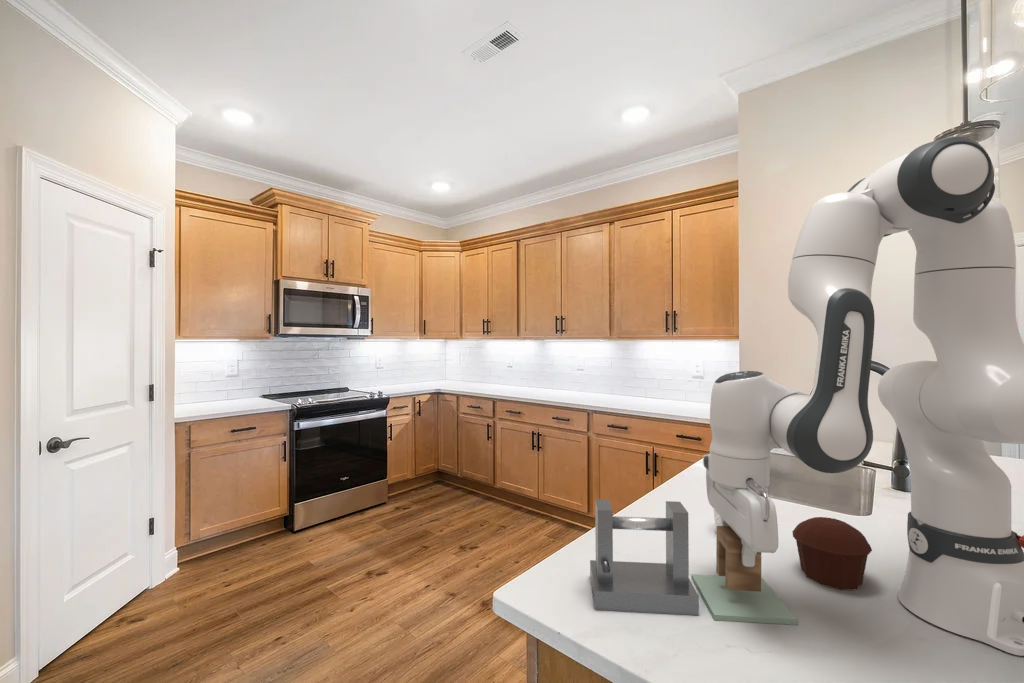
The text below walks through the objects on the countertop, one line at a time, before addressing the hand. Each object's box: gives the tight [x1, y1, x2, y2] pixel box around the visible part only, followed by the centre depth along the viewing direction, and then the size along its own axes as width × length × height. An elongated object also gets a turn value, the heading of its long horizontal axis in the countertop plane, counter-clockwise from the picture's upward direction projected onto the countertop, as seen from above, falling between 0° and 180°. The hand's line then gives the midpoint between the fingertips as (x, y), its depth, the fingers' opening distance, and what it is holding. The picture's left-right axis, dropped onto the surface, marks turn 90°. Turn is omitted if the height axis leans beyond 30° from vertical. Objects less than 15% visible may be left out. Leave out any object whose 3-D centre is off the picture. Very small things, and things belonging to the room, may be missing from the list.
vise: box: [589, 498, 700, 616], centre depth 76 cm, size 16×10×15 cm, turn 84°
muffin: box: [792, 516, 873, 591], centre depth 81 cm, size 12×11×10 cm
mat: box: [690, 573, 799, 626], centre depth 74 cm, size 12×12×1 cm
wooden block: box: [715, 526, 762, 592], centre depth 74 cm, size 5×5×8 cm
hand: (738, 554), depth 74 cm, fingers closed on wooden block, 5 cm apart
